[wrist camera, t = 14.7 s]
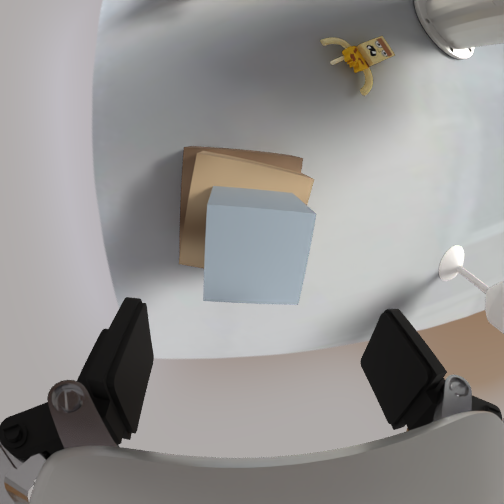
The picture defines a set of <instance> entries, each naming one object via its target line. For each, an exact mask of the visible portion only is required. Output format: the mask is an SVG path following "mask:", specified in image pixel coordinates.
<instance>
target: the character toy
mask: <svg viewBox="0 0 504 504" xmlns="http://www.w3.org/2000/svg"><path fill="white" fill-rule="evenodd" d="M320 42H321V44H322V45H323V46H326V45H329V44H338V45H341V46H342V47H344V48H345V50H343V51H342V54H343V55H344V56H341V57H339V58H337V59H334V60H332V61H331V62H330V64H331V65H334V64H336V63H338V62H340V61H343V60H345V62H347V64H349V66H350V68H351V67H353V68H354V72H355V73H357V72H359V71H363V72H364V75H365V84H364V86H363V87H362V88H361V89H360V92H361V94H362V95H364V96H365V95H366V94H368V93H369V92H370V90H371V88H372V85H373V77H372V73H371V70H370V68H369V67H370V66H372V65H374V64H376V63H379V62H381V61H383V60H385V59H388V58H390V57H392V56H394V55H395V54H394V52H393V51H392V49H391V48H390V46H389V45H388V43H387V42H386V40H385V39H384V38H383V36H380V37H377V38H374V39H372V40H369V41H367V42H364V43H362V44H360V45H358V46H357V47H356V46H352V47H351V46H350V45H349V44H348V43H347V42H346V41H344V40H342V39H339V38H325V39H322V40H320Z"/></svg>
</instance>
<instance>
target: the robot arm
mask: <svg viewBox="0 0 504 504" xmlns="http://www.w3.org/2000/svg"><path fill="white" fill-rule="evenodd" d="M414 3H415V9H416V13H417V16H418V18H419V20H420V22H421V24H422V26H423V28H424V29H425V31H426V32H427V34H428V35H429V36H430V38H431V39H432V40H433V41H434V42H435V43H436V45H437V46H438V47H439V48H441V49H442V50H443V51H444V52H445V53H447V54H448V55H450V56H452V57H454V58H456V59H466V58H469V57H470V56H471V55H472V54H473V51H474V47H480V46H487V45H494V44H503V43H504V0H415V1H414ZM153 359H154V356H153V349H152V343H151V336H150V329H149V321H148V313H147V306H146V303H142V301H141V299H138V298H129V297H126V298H125V299H124V301H123V303H122V305H121V307H120V308H119V310H118V312H117V314H116V316H115V318H114V320H113V322H112V324H111V326H110V327H109V329H104V330H102V332H101V333H100V335H99V337H98V339H97V341H96V343H95V345H94V347H93V349H92V351H91V353H90V355H89V357H88V359H87V361H86V363H85V365H84V367H83V369H82V371H81V374H80V376H79V378H78V380H77V381H74V380H64V381H60V382H58V383H56V384H55V385H54V386H53V387H52V388H51V389H50V391H49V393H48V398H47V400H48V402H47V403H45V404H42V405H39V406H37V407H34V408H31V409H29V410H26V411H24V412H21V413H18V414H16V415H13V416H10V417H8V418H6V419H5V420H4V421H3V422H2V423H1V425H0V504H504V418H503V419H502V415H501V412H500V409H499V408H498V407H497V406H495V405H493V404H491V403H489V402H486V401H484V400H482V399H479V398H477V397H474V396H472V391H471V387H470V385H469V383H468V382H467V381H466V380H465V379H464V378H463V377H461V376H458V375H450V376H448V377H447V378H446V380H444V378H443V377H444V376H445V374H446V373H447V371H446V370H445V368H444V367H443V366H442V364H441V363H440V362H439V360H438V359H437V358H436V356H435V355H434V353H433V352H432V351H431V349H430V348H429V347H428V345H427V344H426V343H425V341H424V340H423V339H422V338H421V336H420V335H419V334H418V332H417V331H416V330H415V329H414V327H413V326H412V325H411V323H410V322H409V321H408V320H407V319H406V317H405V316H404V315H403V314H402V312H401V311H400V310H399V309H387V310H385V311H384V313H382V314H381V316H380V318H379V321H378V323H377V325H376V328H375V330H374V332H373V334H372V337H371V339H370V341H369V343H368V345H367V347H366V350H365V352H364V354H363V356H362V358H361V367H362V369H363V371H364V373H365V375H366V377H367V379H368V381H369V383H370V385H371V387H372V389H373V391H374V393H375V395H376V397H377V400H378V402H379V404H380V406H381V408H382V410H383V413H384V415H385V417H386V419H387V421H388V423H389V424H391V425H392V427H393V429H394V430H395V429H398V428H401V427H404V426H405V425H407V427H408V428H407V431H406V432H404V433H401V434H397V435H394V436H391V437H387V438H384V439H380V440H376V441H372V442H368V443H364V444H360V445H355V446H350V447H346V448H341V449H335V450H329V451H323V452H316V453H309V454H301V455H291V456H278V457H263V458H262V457H261V458H216V457H197V456H184V455H174V454H166V453H158V452H151V451H143V450H136V449H129V448H120V447H119V446H118V444H120V443H121V441H122V438H124V439H129V440H130V438H131V433H136V431H137V428H138V423H139V419H140V414H141V410H142V405H143V401H144V397H145V392H146V389H147V385H148V380H149V377H150V373H151V369H152V365H153ZM35 479H36V482H34V480H35ZM33 485H34V487H33V490H32V494H31V497H30V502H29V501H28V497H27V496H28V491H29V489H30V488H31V487H32V486H33Z"/></svg>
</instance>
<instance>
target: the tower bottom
mask: <svg viewBox="0 0 504 504" xmlns="http://www.w3.org/2000/svg"><path fill="white" fill-rule="evenodd" d="M201 151H207V152H213V153H218V154H223V155H228V156H233V157H238V158H243V159H248V160H252V161H257V162H261V163H266V164H270V165H274V166H278V167H282V168H286V169H290V170H294V171H298V172H300V173H301V169H302V161H303V158H299V157H296V156H292V155H284V154H277V153H269V152H260V151H251V150H240V149H229V148H215V147H197V146H189V147H184V152H183V166H182V183H181V205H180V250H181V243H182V236H183V229H184V223H185V216H186V210H187V204H188V198H189V193H190V187H191V182H192V176H193V171H194V166H195V161H196V156H197V153H199V152H201Z"/></svg>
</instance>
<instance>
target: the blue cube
mask: <svg viewBox="0 0 504 504" xmlns="http://www.w3.org/2000/svg"><path fill="white" fill-rule="evenodd" d="M315 219H316V213H315V212H314V211H313V210H311V209H310V208H309V207H308V206H307V205H306V204H305V203H303V202H302V201H301V200H300V199H299V198H298V197H297V196H295V195H294V194H293V193H288V192H279V191H269V190H258V189H247V188H235V187H221V186H213V188H212V191H211V194H210V197H209V201H208V204H207V217H206V237H205V261H204V297H203V301H215V302H234V303H256V304H290V305H298V303H299V299H300V294H301V290H302V285H303V280H304V276H305V271H306V266H307V261H308V256H309V251H310V246H311V241H312V235H313V230H314V224H315Z"/></svg>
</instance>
